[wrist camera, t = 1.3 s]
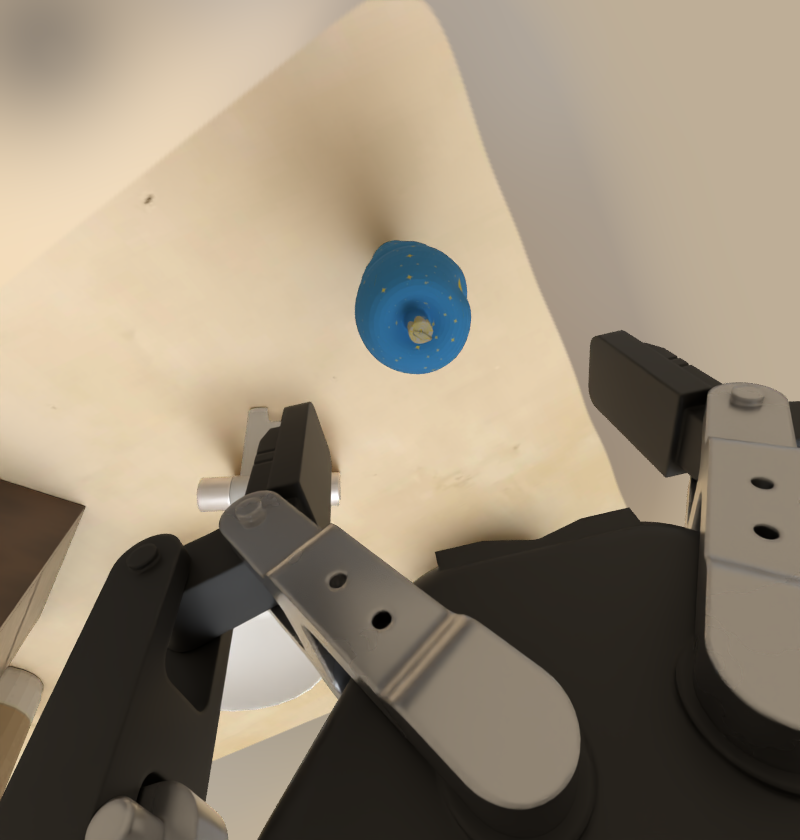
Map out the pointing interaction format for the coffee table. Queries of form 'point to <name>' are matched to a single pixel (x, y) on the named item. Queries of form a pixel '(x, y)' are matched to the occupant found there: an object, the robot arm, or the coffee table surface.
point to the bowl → (265, 667)
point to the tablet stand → (245, 469)
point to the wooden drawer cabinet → (29, 558)
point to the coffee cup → (15, 716)
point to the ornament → (412, 307)
